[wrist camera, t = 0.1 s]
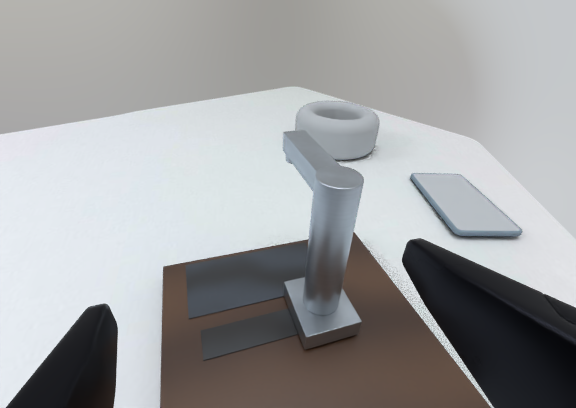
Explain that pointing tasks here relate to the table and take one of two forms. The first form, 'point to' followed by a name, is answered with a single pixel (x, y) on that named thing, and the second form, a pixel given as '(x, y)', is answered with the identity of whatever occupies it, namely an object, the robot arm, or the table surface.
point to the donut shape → (340, 127)
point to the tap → (324, 244)
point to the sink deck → (297, 340)
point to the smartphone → (464, 206)
